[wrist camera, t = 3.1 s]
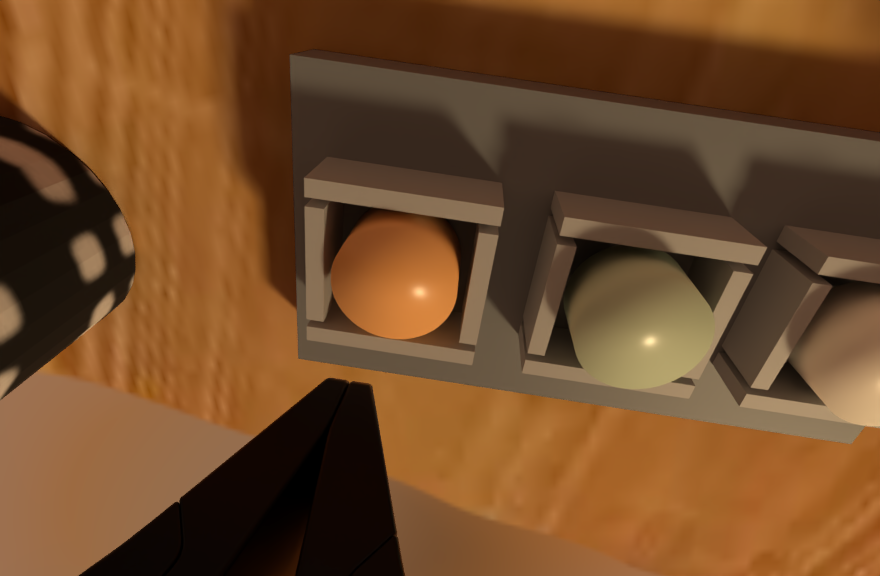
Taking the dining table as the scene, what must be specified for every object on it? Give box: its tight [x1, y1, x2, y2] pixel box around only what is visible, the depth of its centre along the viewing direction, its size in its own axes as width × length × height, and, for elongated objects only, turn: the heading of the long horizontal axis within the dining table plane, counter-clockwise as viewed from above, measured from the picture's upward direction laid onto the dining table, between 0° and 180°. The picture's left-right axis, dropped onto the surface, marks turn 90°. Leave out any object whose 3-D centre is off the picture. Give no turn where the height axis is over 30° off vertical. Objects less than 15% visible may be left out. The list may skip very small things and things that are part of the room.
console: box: [290, 49, 880, 444], centre depth 15 cm, size 20×10×4 cm, turn 83°
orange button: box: [331, 207, 461, 339], centre depth 14 cm, size 3×3×2 cm
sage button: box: [563, 245, 715, 389], centre depth 13 cm, size 3×3×2 cm
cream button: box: [787, 281, 880, 426], centre depth 13 cm, size 3×3×2 cm
